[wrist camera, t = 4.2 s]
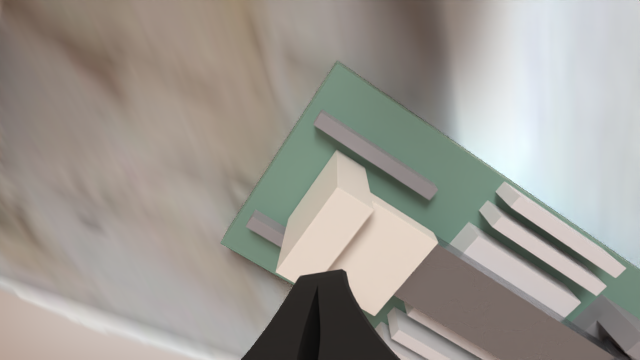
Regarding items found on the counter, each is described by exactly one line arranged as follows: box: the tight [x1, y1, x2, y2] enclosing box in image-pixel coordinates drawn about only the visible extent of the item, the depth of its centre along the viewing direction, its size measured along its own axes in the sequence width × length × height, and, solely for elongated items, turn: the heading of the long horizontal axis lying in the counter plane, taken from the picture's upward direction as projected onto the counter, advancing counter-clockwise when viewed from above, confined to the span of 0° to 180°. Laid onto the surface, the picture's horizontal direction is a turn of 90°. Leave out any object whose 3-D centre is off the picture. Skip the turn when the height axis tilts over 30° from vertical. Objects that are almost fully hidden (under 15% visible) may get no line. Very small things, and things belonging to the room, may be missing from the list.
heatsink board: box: [221, 61, 640, 360], centre depth 19 cm, size 20×10×4 cm, turn 57°
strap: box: [393, 234, 637, 360], centre depth 19 cm, size 12×4×2 cm, turn 57°
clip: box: [276, 150, 438, 316], centre depth 17 cm, size 4×4×4 cm
